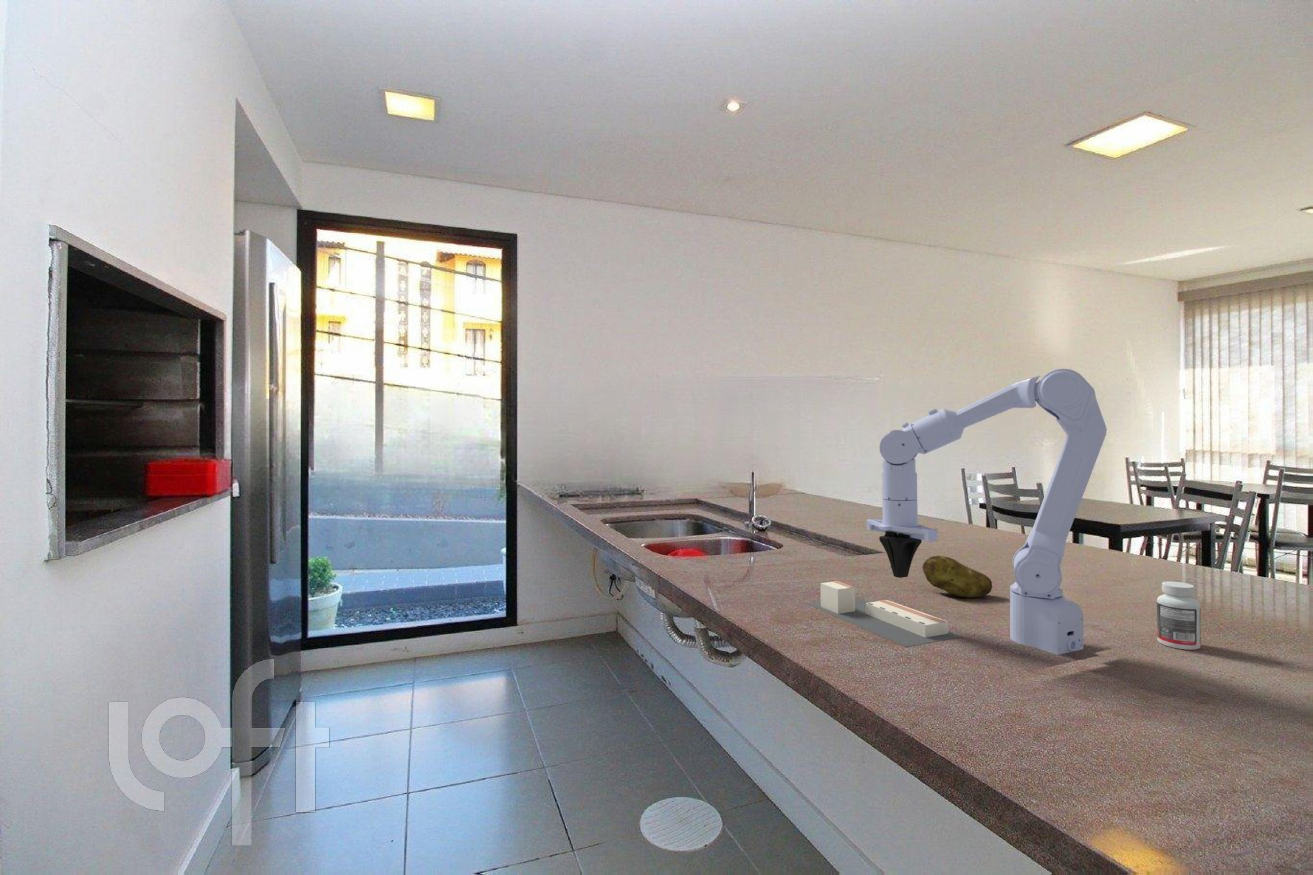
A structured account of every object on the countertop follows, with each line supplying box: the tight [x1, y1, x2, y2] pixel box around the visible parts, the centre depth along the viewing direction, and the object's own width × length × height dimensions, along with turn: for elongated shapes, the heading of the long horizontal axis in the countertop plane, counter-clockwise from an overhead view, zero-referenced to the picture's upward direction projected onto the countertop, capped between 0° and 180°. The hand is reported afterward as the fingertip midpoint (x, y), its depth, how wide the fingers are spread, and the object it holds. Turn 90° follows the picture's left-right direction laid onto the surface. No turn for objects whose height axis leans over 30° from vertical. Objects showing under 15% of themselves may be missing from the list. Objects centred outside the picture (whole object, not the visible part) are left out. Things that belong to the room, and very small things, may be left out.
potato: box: [922, 555, 993, 599], centre depth 129 cm, size 8×13×8 cm, turn 54°
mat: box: [805, 596, 964, 648], centre depth 109 cm, size 26×12×1 cm, turn 22°
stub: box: [820, 580, 856, 614], centre depth 115 cm, size 5×4×5 cm
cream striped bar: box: [866, 599, 949, 638], centre depth 106 cm, size 14×5×2 cm, turn 22°
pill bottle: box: [1156, 580, 1202, 651], centre depth 98 cm, size 5×5×10 cm
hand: (900, 576), depth 107 cm, fingers closed
